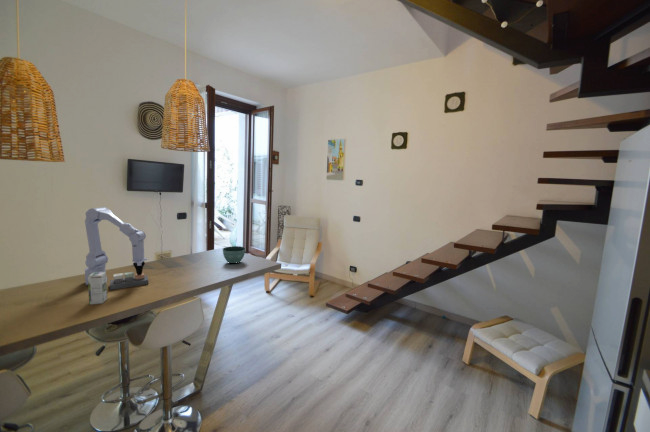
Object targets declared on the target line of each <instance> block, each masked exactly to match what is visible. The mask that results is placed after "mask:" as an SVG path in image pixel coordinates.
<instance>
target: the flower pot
mask: <svg viewBox="0 0 650 432" xmlns="http://www.w3.org/2000/svg"><path fill="white" fill-rule="evenodd" d="M245 252H246V247H244V246H241V245H239V246H237V245H236V246H235V245H234V246H233V245H232V246H231V245H230V246H225V247H223V248H222V254H223V257H224V260H225V261H226V263H227V262H229V263H236V262H240V261H241V262H242V260H243V258H244V257H245ZM241 262H240V263H241Z"/></svg>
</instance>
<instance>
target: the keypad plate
mask: <svg viewBox="0 0 650 432" xmlns="http://www.w3.org/2000/svg"><path fill="white" fill-rule="evenodd" d="M144 285H145V286H146V285H149V277H148V275H147V274H144V279H142V280H136V279H135V276H134V277H133V281H128V282H126V278H125V277H123V282H122V283H115V280H114V279H111V280H109V290H110V291H115V290H120V289H126V288H131V287H137V286H138V287H139V286H144Z"/></svg>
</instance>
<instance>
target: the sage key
mask: <svg viewBox="0 0 650 432" xmlns="http://www.w3.org/2000/svg"><path fill="white" fill-rule="evenodd" d="M123 277H124V278H126V282H128V281H133V277H135V273H134V271H129V272H124V273H123Z"/></svg>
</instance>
